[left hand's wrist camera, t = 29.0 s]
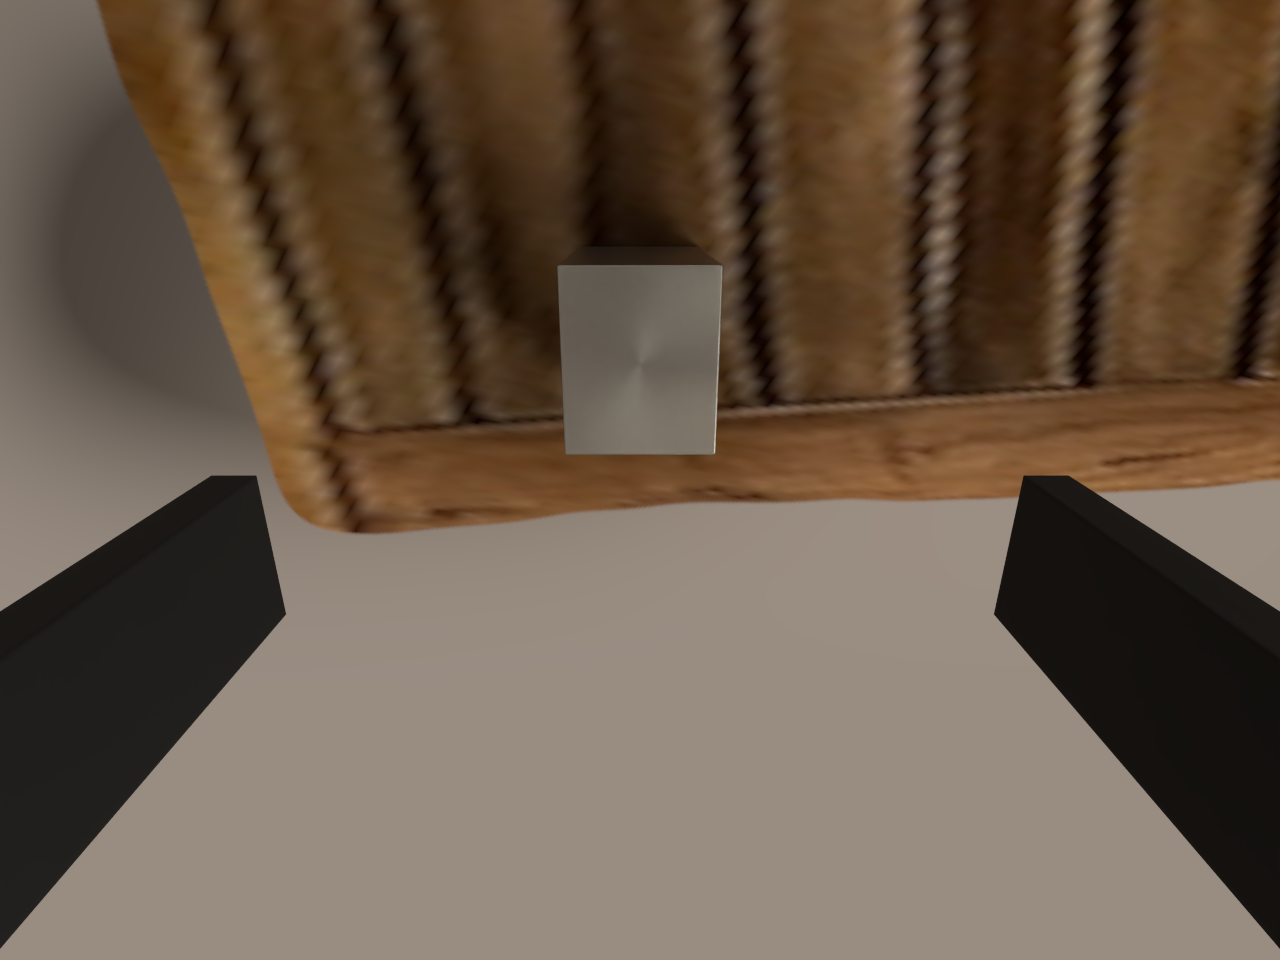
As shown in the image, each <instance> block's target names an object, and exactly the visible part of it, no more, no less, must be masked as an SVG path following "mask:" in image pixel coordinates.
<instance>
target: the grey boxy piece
mask: <svg viewBox="0 0 1280 960" xmlns="http://www.w3.org/2000/svg"><path fill="white" fill-rule="evenodd" d="M557 276H558V300H559V324H560V348H561V372H562V396H563V420H564V444H565V454H715V451H716V427H717V403H718V379H719V355H720V331H721V306H722V282H723V265H722V264H720V263H719V262H718V261H716V260H715V259H714V258H713V257H711V256H710V255H709V254H708V253H706V252H705V251H704V250H703V249H701V248H700V247H580V248H579V249H578V250H576V251H575V252H574V253H573V254H571V255H570V256H569V257H568V258H566V259H565V260H564V261H563V262H561V263H560V264H559V265H558V266H557Z"/></svg>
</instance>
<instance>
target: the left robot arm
mask: <svg viewBox="0 0 1280 960" xmlns="http://www.w3.org/2000/svg"><path fill="white" fill-rule="evenodd" d="M285 615H286V612H285V607H284V603H283V598H282V593H281V589H280V584H279V579H278V575H277V570H276V565H275V561H274V556H273V551H272V547H271V542H270V537H269V533H268V528H267V524H266V519H265V514H264V509H263V505H262V500H261V495H260V491H259V486H258V481H257V477H256V476H210V477H209V478H207V479H206V480H204V481H202V482H201V483H199V484H198V485H196V486H195V487H193V488H192V489H190V490H188V491H187V492H185V493H184V494H182V495H181V496H179V497H178V498H176V499H174V500H173V501H171V502H170V503H168V504H167V505H165V506H164V507H162V508H161V509H159V510H157V511H156V512H154V513H153V514H151V515H150V516H148V517H146V518H145V519H143V520H142V521H140V522H139V523H137V524H136V525H134V526H132V527H131V528H129V529H128V530H126V531H125V532H123V533H122V534H120V535H118V536H117V537H115V538H114V539H112V540H111V541H109V542H108V543H106V544H105V545H103V546H101V547H100V548H98V549H97V550H95V551H94V552H92V553H90V554H89V555H87V556H86V557H84V558H83V559H81V560H80V561H78V562H76V563H75V564H73V565H72V566H70V567H69V568H67V569H66V570H64V571H62V572H61V573H59V574H58V575H56V576H55V577H53V578H52V579H50V580H48V581H47V582H45V583H44V584H42V585H41V586H39V587H38V588H36V589H35V590H33V591H31V592H30V593H28V594H27V595H25V596H24V597H22V598H20V599H19V600H17V601H16V602H14V603H13V604H11V605H10V606H8V607H6V608H5V609H3V610H2V611H0V948H1V947H2V946H3V945H4V944H5V942H6V941H7V940H8V939H9V938H10V936H11V935H12V934H13V933H14V932H15V931H16V930H17V928H18V927H19V926H20V925H21V924H22V923H23V921H24V920H25V919H26V918H27V917H28V915H29V914H30V913H31V912H32V911H33V910H34V908H35V907H36V906H37V905H38V904H39V903H40V901H41V900H42V899H43V898H44V897H45V896H46V894H47V893H48V892H49V891H50V890H51V888H52V887H53V886H54V885H55V884H56V883H57V882H58V880H59V879H60V878H61V877H62V876H63V875H64V873H65V872H66V871H67V870H68V869H69V867H70V866H71V865H72V864H73V863H74V862H75V861H76V859H77V858H78V857H79V856H80V855H81V854H82V852H83V851H84V850H85V849H86V848H87V846H88V845H89V844H90V843H91V842H92V841H93V839H94V838H95V837H96V836H97V835H98V834H99V832H100V831H101V830H102V829H103V828H104V827H105V825H106V824H107V823H108V822H109V821H110V819H111V818H112V817H113V816H114V815H115V814H116V812H117V811H118V810H119V809H120V808H121V807H122V806H123V804H124V803H125V802H126V801H127V800H128V798H129V797H130V796H131V795H132V794H133V793H134V791H135V790H136V789H137V788H138V787H139V786H140V784H141V783H142V782H143V781H144V780H145V779H146V777H147V776H148V775H149V774H150V773H151V772H152V770H153V769H154V768H155V767H156V766H157V765H158V763H159V762H160V761H161V760H162V759H163V758H164V756H165V755H166V754H167V753H168V752H169V751H170V749H171V748H172V747H173V746H174V745H175V744H176V742H177V741H178V740H179V739H180V738H181V737H182V735H183V734H184V733H185V732H186V731H187V729H188V728H189V727H190V726H191V725H192V724H193V722H194V721H195V720H196V719H197V718H198V717H199V715H200V714H201V713H202V712H203V711H204V710H205V708H206V707H207V706H208V705H209V704H210V703H211V701H212V700H213V699H214V698H215V697H216V696H217V694H218V693H219V692H220V691H221V690H222V689H223V687H224V686H225V685H226V684H227V683H228V681H229V680H230V679H231V678H232V677H233V676H234V675H235V673H236V672H237V671H238V670H239V669H240V667H241V666H242V665H243V664H244V663H245V662H246V660H247V659H248V658H249V657H250V656H251V655H252V653H253V652H254V651H255V650H256V649H257V648H258V646H259V645H260V644H261V643H262V642H263V641H264V639H265V638H266V637H267V636H268V635H269V634H270V632H271V631H272V630H273V629H274V628H275V627H276V625H277V624H278V623H279V622H280V621H281V619H282V618H283V617H284V616H285ZM994 615H995V616H996V617H997V618H998V620H999V621H1000V622H1001V623H1002V624H1003V625H1004V626H1005V628H1006V629H1007V630H1008V631H1009V632H1010V634H1011V635H1012V636H1013V637H1014V638H1015V639H1016V641H1017V642H1018V643H1019V644H1020V645H1021V646H1022V648H1023V649H1024V650H1025V651H1026V652H1027V653H1028V655H1029V656H1030V657H1031V658H1032V659H1033V660H1034V662H1035V663H1036V664H1037V665H1038V666H1039V667H1040V669H1041V670H1042V671H1043V672H1044V673H1045V675H1046V676H1047V677H1048V678H1049V679H1050V680H1051V682H1052V683H1053V684H1054V685H1055V686H1056V687H1057V688H1058V690H1059V691H1060V692H1061V693H1062V694H1063V696H1064V697H1065V698H1066V699H1067V700H1068V701H1069V703H1070V704H1071V705H1072V706H1073V707H1074V708H1075V710H1076V711H1077V712H1078V713H1079V714H1080V715H1081V717H1082V718H1083V719H1084V720H1085V721H1086V722H1087V724H1088V725H1089V726H1090V727H1091V728H1092V730H1093V731H1094V732H1095V733H1096V734H1097V735H1098V737H1099V738H1100V739H1101V740H1102V741H1103V742H1104V744H1105V745H1106V746H1107V747H1108V748H1109V749H1110V751H1111V752H1112V753H1113V754H1114V755H1115V756H1116V758H1117V759H1118V760H1119V761H1120V762H1121V763H1122V765H1123V766H1124V767H1125V768H1126V769H1127V770H1128V772H1129V773H1130V774H1131V775H1132V776H1133V777H1134V779H1135V780H1136V781H1137V782H1138V783H1139V784H1140V786H1141V787H1142V788H1143V789H1144V790H1145V791H1146V793H1147V794H1148V795H1149V796H1150V797H1151V799H1152V800H1153V801H1154V802H1155V803H1156V804H1157V806H1158V807H1159V808H1160V809H1161V810H1162V811H1163V813H1164V814H1165V815H1166V816H1167V817H1168V818H1169V820H1170V821H1171V822H1172V823H1173V824H1174V825H1175V826H1176V828H1177V829H1178V830H1179V831H1180V832H1181V834H1182V835H1183V836H1184V837H1185V838H1186V839H1187V841H1188V842H1189V843H1190V844H1191V845H1192V846H1193V848H1194V849H1195V850H1196V851H1197V852H1198V854H1199V855H1200V856H1201V857H1202V858H1203V859H1204V860H1205V862H1206V863H1207V864H1208V865H1209V866H1210V868H1211V869H1212V870H1213V871H1214V872H1215V873H1216V875H1217V876H1218V877H1219V878H1220V879H1221V880H1222V882H1223V883H1224V884H1225V885H1226V886H1227V887H1228V889H1229V890H1230V891H1231V892H1232V893H1233V894H1234V896H1235V897H1236V898H1237V899H1238V900H1239V901H1240V903H1241V904H1242V905H1243V906H1244V907H1245V908H1246V910H1247V911H1248V912H1249V913H1250V914H1251V915H1252V917H1253V918H1254V919H1255V920H1256V921H1257V923H1258V924H1259V925H1260V926H1261V927H1262V928H1263V930H1264V931H1265V932H1266V933H1267V934H1268V935H1269V936H1270V938H1271V939H1272V940H1273V941H1274V942H1275V944H1276V945H1277V946H1278V947H1279V948H1280V611H1278V610H1277V609H1275V608H1274V607H1272V606H1270V605H1269V604H1267V603H1266V602H1264V601H1263V600H1261V599H1260V598H1258V597H1256V596H1255V595H1253V594H1252V593H1250V592H1249V591H1247V590H1246V589H1244V588H1242V587H1241V586H1239V585H1238V584H1236V583H1235V582H1233V581H1232V580H1230V579H1228V578H1227V577H1225V576H1224V575H1222V574H1221V573H1219V572H1218V571H1216V570H1214V569H1213V568H1211V567H1210V566H1208V565H1207V564H1205V563H1204V562H1202V561H1200V560H1199V559H1197V558H1196V557H1194V556H1193V555H1191V554H1190V553H1188V552H1186V551H1185V550H1183V549H1182V548H1180V547H1179V546H1177V545H1176V544H1174V543H1172V542H1171V541H1169V540H1168V539H1166V538H1165V537H1163V536H1162V535H1160V534H1158V533H1157V532H1155V531H1154V530H1152V529H1151V528H1149V527H1148V526H1146V525H1144V524H1143V523H1141V522H1140V521H1138V520H1137V519H1135V518H1134V517H1132V516H1130V515H1129V514H1127V513H1126V512H1124V511H1123V510H1121V509H1120V508H1118V507H1116V506H1115V505H1113V504H1112V503H1110V502H1109V501H1107V500H1106V499H1104V498H1102V497H1101V496H1099V495H1098V494H1096V493H1095V492H1093V491H1092V490H1090V489H1088V488H1087V487H1085V486H1084V485H1082V484H1081V483H1079V482H1078V481H1076V480H1074V479H1073V478H1071V477H1070V476H1024V477H1023V481H1022V486H1021V491H1020V495H1019V500H1018V505H1017V509H1016V514H1015V519H1014V523H1013V528H1012V533H1011V538H1010V542H1009V547H1008V551H1007V556H1006V561H1005V565H1004V570H1003V575H1002V579H1001V584H1000V589H999V593H998V598H997V603H996V607H995V612H994Z"/></svg>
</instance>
